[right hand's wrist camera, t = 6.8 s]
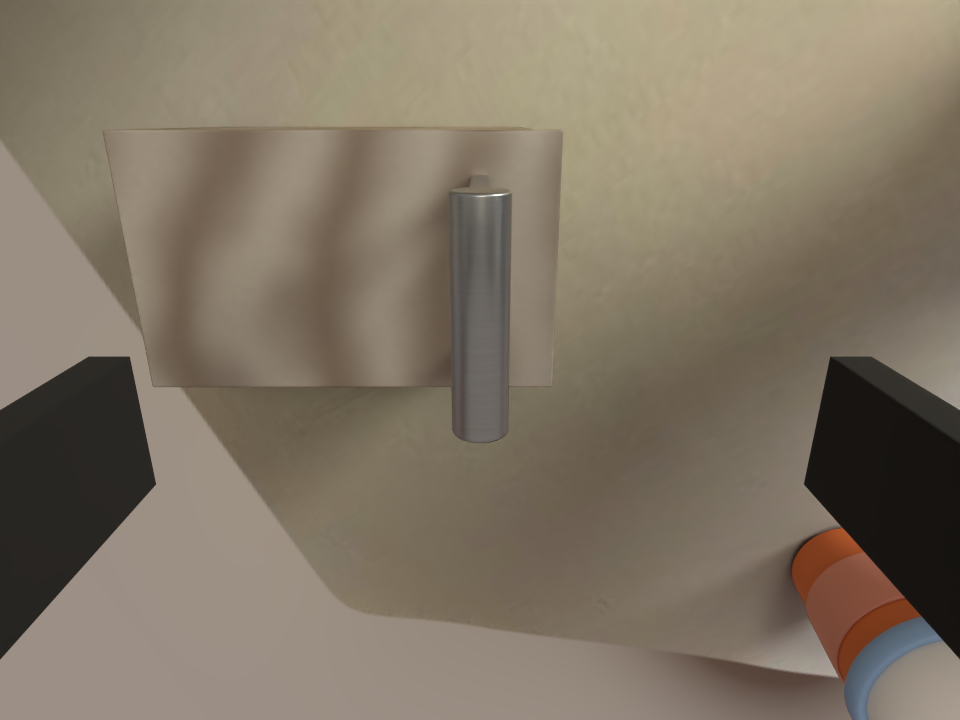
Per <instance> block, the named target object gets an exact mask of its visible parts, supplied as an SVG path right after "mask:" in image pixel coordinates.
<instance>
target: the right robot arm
mask: <svg viewBox="0 0 960 720" xmlns="http://www.w3.org/2000/svg"><path fill="white" fill-rule="evenodd" d="M155 485H156V482H155V477H154V472H153V467H152V462H151V458H150V453H149V448H148V443H147V438H146V434H145V429H144V424H143V419H142V414H141V409H140V404H139V400H138V395H137V390H136V385H135V380H134V375H133V371H132V366H131V361H130V357H87V358H86V359H84V360H82V361H81V362H79V363H77V364H76V365H74V366H73V367H71V368H69V369H68V370H66V371H64V372H63V373H61V374H59V375H58V376H56V377H54V378H53V379H51V380H49V381H48V382H46V383H44V384H43V385H41V386H40V387H38V388H36V389H35V390H33V391H31V392H30V393H28V394H26V395H25V396H23V397H21V398H20V399H18V400H16V401H15V402H13V403H11V404H10V405H8V406H6V407H5V408H3V409H1V410H0V659H1V658H2V657H3V656H4V655H5V653H6V652H7V651H8V650H9V649H10V648H11V647H12V646H13V644H14V643H15V642H16V641H17V640H18V639H19V638H20V637H21V636H22V634H23V633H24V632H25V631H26V630H27V629H28V628H29V627H30V625H31V624H32V623H33V622H34V621H35V620H36V619H37V618H38V616H39V615H40V614H41V613H42V612H43V611H44V610H45V609H46V607H47V606H48V605H49V604H50V603H51V602H52V601H53V600H54V598H55V597H56V596H57V595H58V594H59V593H60V592H61V591H62V589H63V588H64V587H65V586H66V585H67V584H68V583H69V582H70V580H71V579H72V578H73V577H74V576H75V575H76V574H77V573H78V571H79V570H80V569H81V568H82V567H83V566H84V565H85V564H86V562H87V561H88V560H89V559H90V558H91V557H92V556H93V554H94V553H95V552H96V551H97V550H98V549H99V548H100V547H101V546H102V544H103V543H104V542H105V541H106V540H107V539H108V538H109V537H110V535H111V534H112V533H113V532H114V531H115V530H116V529H117V528H118V526H119V525H120V524H121V523H122V522H123V521H124V520H125V519H126V517H127V516H128V515H129V514H130V513H131V512H132V511H133V510H134V508H135V507H136V506H137V505H138V504H139V503H140V502H141V501H142V499H143V498H144V497H145V496H146V495H147V494H148V493H149V492H150V491H151V489H152V488H153V487H154V486H155ZM804 485H805V486H806V487H807V488H808V489H809V491H810V492H811V493H812V494H813V495H814V496H815V497H816V498H817V500H818V501H819V502H820V503H821V504H822V505H823V506H824V507H825V509H826V510H827V511H828V512H829V513H830V514H831V515H832V516H833V517H834V519H835V520H836V521H837V522H838V523H839V524H840V525H841V526H842V528H843V529H844V530H845V531H846V532H847V533H848V534H849V535H850V537H851V538H852V539H853V540H854V541H855V542H856V543H857V544H858V546H859V547H860V548H861V549H862V550H863V551H864V552H865V553H866V555H867V556H868V557H869V558H870V559H871V560H872V561H873V562H874V564H875V565H876V566H877V567H878V568H879V569H880V570H881V571H882V573H883V574H884V575H885V576H886V577H887V578H888V579H889V580H890V582H891V583H892V584H893V585H894V586H895V587H896V588H897V589H898V591H899V592H900V593H901V594H902V595H903V596H904V597H905V598H906V600H907V601H908V602H909V603H910V604H911V605H912V606H913V607H914V609H915V610H916V611H917V612H918V613H919V614H920V615H921V616H922V618H923V619H924V620H925V621H926V622H927V623H928V624H929V625H930V627H931V628H932V629H933V630H934V631H935V632H936V633H937V634H938V636H939V637H940V638H941V639H942V640H943V641H944V642H945V643H946V645H947V646H948V647H949V648H950V649H951V650H952V651H953V652H954V653H955V655H956V656H957V657H958V658H959V659H960V410H959V409H957V408H955V407H954V406H952V405H950V404H949V403H947V402H945V401H944V400H942V399H940V398H939V397H937V396H935V395H934V394H932V393H930V392H929V391H927V390H926V389H924V388H922V387H921V386H919V385H917V384H916V383H914V382H912V381H911V380H909V379H907V378H906V377H904V376H902V375H901V374H899V373H897V372H896V371H894V370H892V369H891V368H889V367H887V366H886V365H884V364H883V363H881V362H879V361H878V360H876V359H874V358H873V357H830V361H829V366H828V371H827V375H826V380H825V385H824V390H823V395H822V400H821V404H820V409H819V414H818V419H817V424H816V429H815V433H814V438H813V443H812V448H811V453H810V458H809V462H808V467H807V472H806V477H805V482H804Z"/></svg>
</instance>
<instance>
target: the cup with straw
mask: <svg viewBox="0 0 960 720" xmlns="http://www.w3.org/2000/svg"><path fill="white" fill-rule="evenodd" d="M792 578H793V582H794V584H795V587H796V589H797V591H798V592H799V594H800V596H801V598H802V600H803V602H804V604H805V606H806V608H807V614H808V618H809V620H810V622H811V624H812V626H813V628H814V630H815V632H816V634H817V636H818V638H819V640H820V641H821V643H822V645H823V647H824V649H825V651H826V653H827V655H828V657H829V659H830V661H831V663H832V665H833V667H834V669H835V671H836V673H837V674H838V676H839V678H840V679H841V681H842V682H843V683H844V684H845V685H844V697H845V702H846V706H847V709H848V712H849V714H850V716H851V718H852V720H960V659H959V658H958V657H957V656H956V655H955V653H954V652H953V651H952V650H951V649H950V648H949V647H948V646H947V645H946V643H945V642H944V641H943V640H942V639H941V638H940V637H939V636H938V634H937V633H936V632H935V631H934V630H933V629H932V628H931V627H930V625H929V624H928V623H927V622H926V621H925V620H924V619H923V618H922V616H921V615H920V614H919V613H918V612H917V611H916V610H915V609H914V607H913V606H912V605H911V604H910V603H909V602H908V601H907V600H906V598H905V597H904V596H903V595H902V594H901V593H900V592H899V591H898V589H897V588H896V587H895V586H894V585H893V584H892V583H891V582H890V580H889V579H888V578H887V577H886V576H885V575H884V574H883V573H882V571H881V570H880V569H879V568H878V567H877V566H876V565H875V564H874V562H873V561H872V560H871V559H870V558H869V557H868V556H867V555H866V553H865V552H864V551H863V550H862V549H861V548H860V547H859V546H858V544H857V543H856V542H855V541H854V540H853V539H852V538H851V537H850V535H849V534H848V533H847V532H846V531H845V530H844V529H843V528H838V529H833V530H829V531H826V532H823V533H821V534H819V535H817V536H815V537H814V538H812V539H811V540H809V541H808V542H807V543H806V544H805V545H804V546H803V547H802V548H801V549H800V551H799V552H798V553H797V555H796V557H795V559H794V562H793V565H792Z"/></svg>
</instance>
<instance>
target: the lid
mask: <svg viewBox="0 0 960 720" xmlns="http://www.w3.org/2000/svg"><path fill="white" fill-rule="evenodd" d="M103 135H104V140H105V146H106V151H107V156H108V161H109V166H110V171H111V176H112V181H113V186H114V191H115V196H116V202H117V207H118V212H119V217H120V222H121V227H122V232H123V237H124V242H125V247H126V252H127V258H128V263H129V268H130V273H131V278H132V283H133V288H134V293H135V298H136V303H137V308H138V314H139V319H140V324H141V329H142V334H143V339H144V344H145V349H146V354H147V359H148V364H149V369H150V375H151V380H152V385H153V387H452V430H453V432H454V434H455V435H456V436H457V437H458V438H460V439H462V440H464V441H468V442H473V443H488V442H493V441H497V440H499V439H501V438H503V437H504V436H505V435H506V434H507V432H508V416H509V387H551V386H552V375H553V352H554V329H555V306H556V283H557V260H558V236H559V213H560V190H561V167H562V144H563V131H562V130H104V131H103Z"/></svg>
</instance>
